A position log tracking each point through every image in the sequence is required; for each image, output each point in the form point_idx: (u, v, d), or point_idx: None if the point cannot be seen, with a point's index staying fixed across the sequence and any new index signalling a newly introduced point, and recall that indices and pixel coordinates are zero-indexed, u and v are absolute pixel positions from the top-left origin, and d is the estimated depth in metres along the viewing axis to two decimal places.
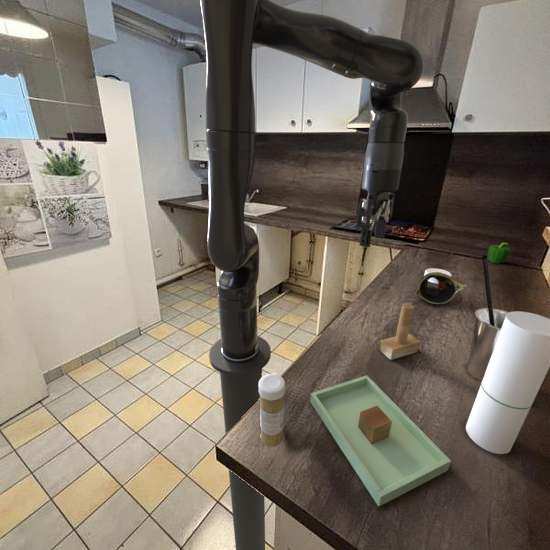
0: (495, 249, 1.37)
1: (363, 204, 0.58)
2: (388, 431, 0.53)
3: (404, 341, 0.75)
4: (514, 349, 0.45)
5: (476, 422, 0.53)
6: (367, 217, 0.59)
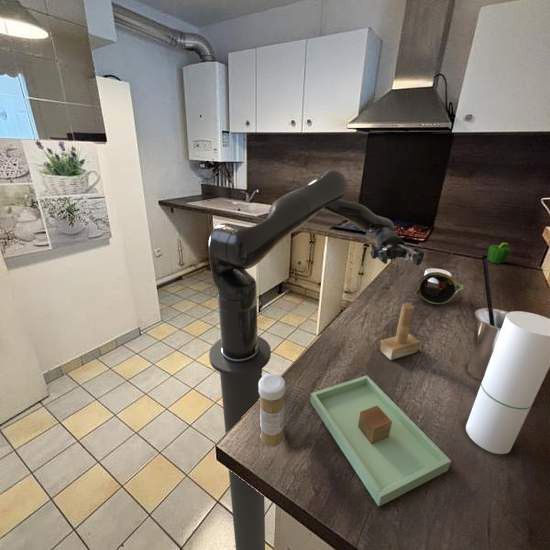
0: (495, 249, 1.37)
1: (370, 250, 0.89)
2: (388, 431, 0.53)
3: (404, 341, 0.75)
4: (514, 349, 0.45)
5: (476, 422, 0.53)
6: (372, 249, 0.86)
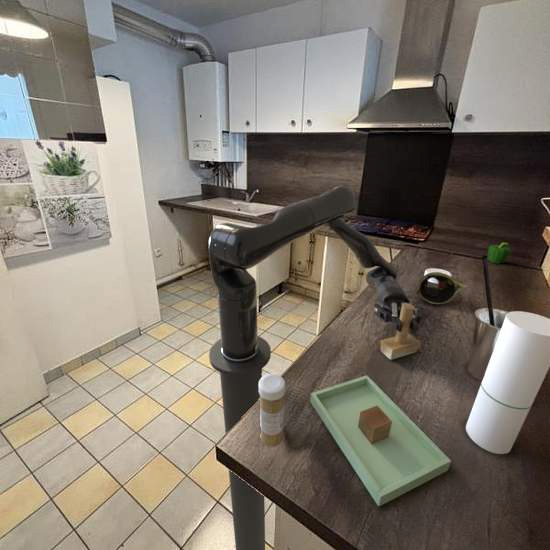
0: (495, 249, 1.37)
1: (375, 311, 0.81)
2: (388, 431, 0.53)
3: (404, 341, 0.75)
4: (514, 349, 0.45)
5: (476, 422, 0.53)
6: (381, 311, 0.78)
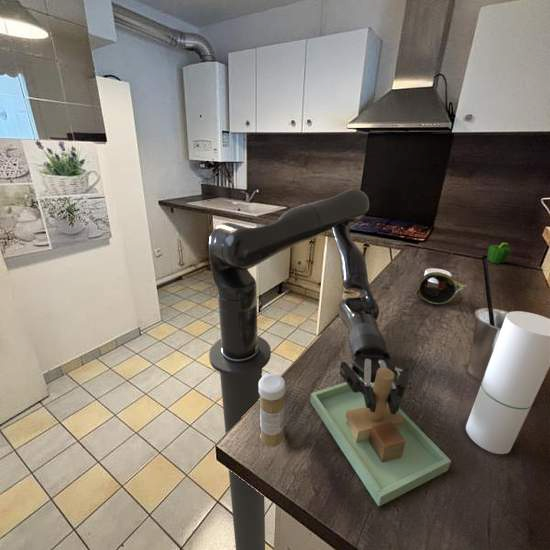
0: (495, 249, 1.37)
1: (341, 372, 0.58)
2: (401, 450, 0.50)
3: (378, 419, 0.53)
4: (514, 349, 0.45)
5: (476, 422, 0.53)
6: (348, 375, 0.55)
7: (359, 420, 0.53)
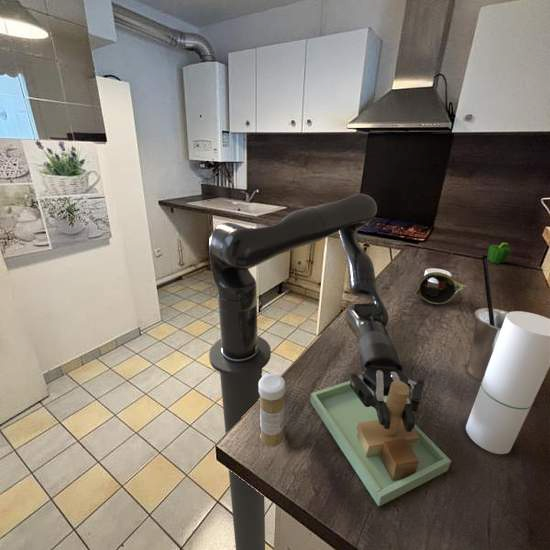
0: (495, 249, 1.37)
1: (352, 384, 0.55)
2: (414, 470, 0.47)
3: (391, 434, 0.50)
4: (514, 349, 0.45)
5: (476, 422, 0.53)
6: (359, 388, 0.52)
7: (370, 434, 0.51)
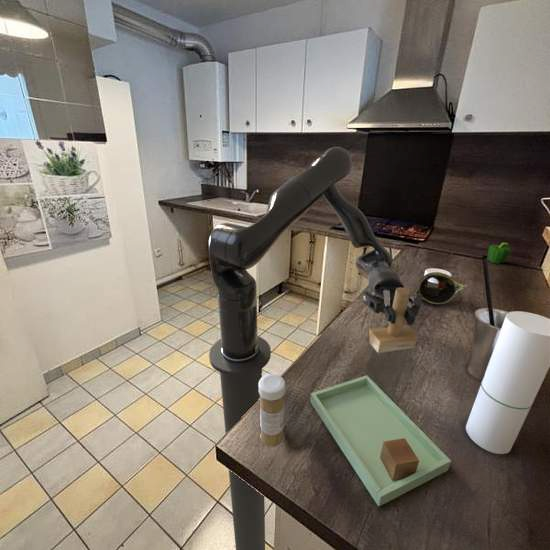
0: (495, 249, 1.37)
1: (364, 300, 0.68)
2: (414, 470, 0.47)
3: (397, 333, 0.63)
4: (514, 349, 0.45)
5: (476, 422, 0.53)
6: (371, 300, 0.65)
7: (380, 335, 0.63)
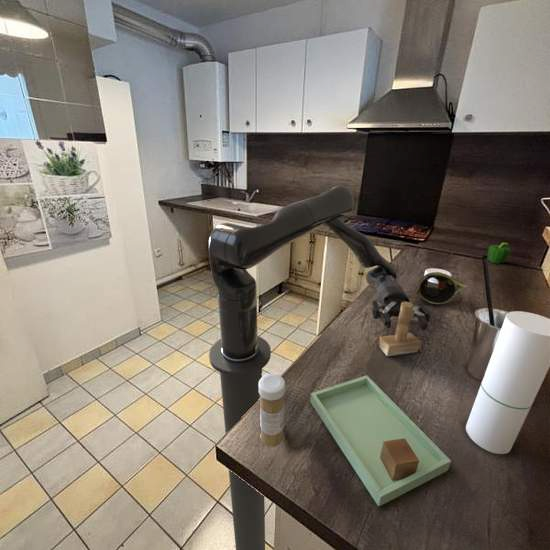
0: (495, 249, 1.37)
1: (372, 307, 0.82)
2: (414, 470, 0.47)
3: (403, 339, 0.76)
4: (514, 349, 0.45)
5: (476, 422, 0.53)
6: (373, 307, 0.79)
7: (389, 341, 0.77)
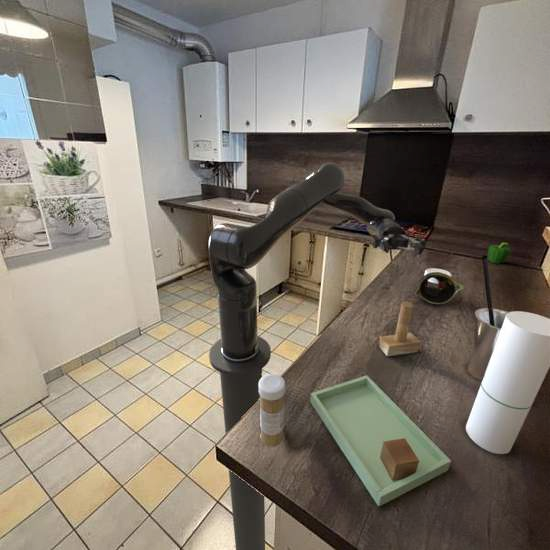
0: (495, 249, 1.37)
1: None
2: (414, 470, 0.47)
3: (403, 339, 0.76)
4: (514, 349, 0.45)
5: (476, 422, 0.53)
6: (373, 238, 0.85)
7: (389, 341, 0.77)
